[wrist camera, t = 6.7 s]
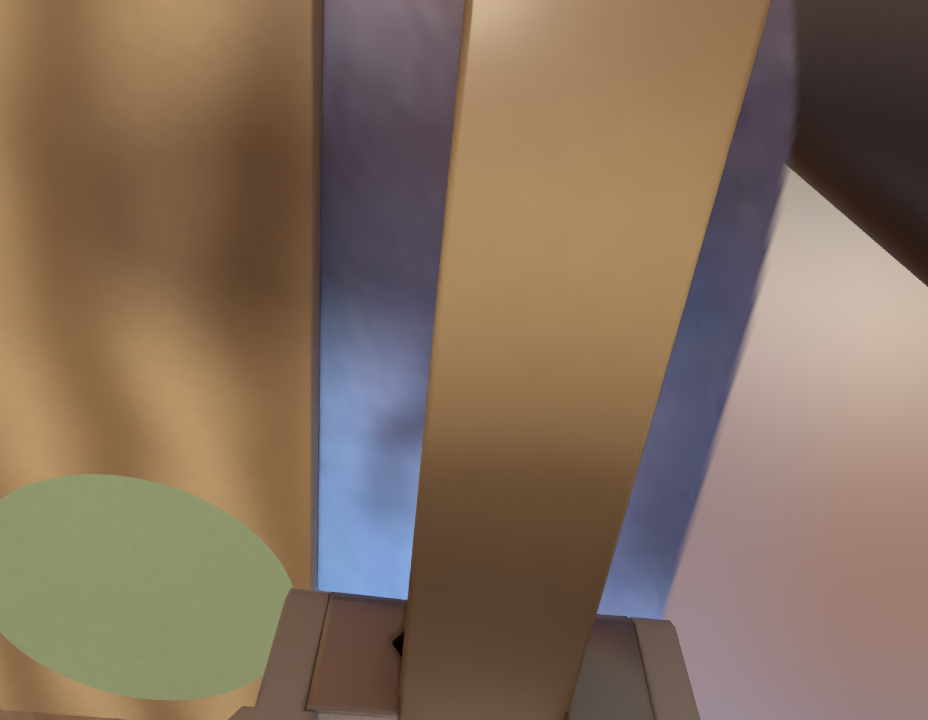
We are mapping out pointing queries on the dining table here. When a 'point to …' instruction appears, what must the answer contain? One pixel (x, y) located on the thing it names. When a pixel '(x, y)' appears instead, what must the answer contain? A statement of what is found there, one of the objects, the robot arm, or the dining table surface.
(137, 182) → the board
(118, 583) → the plate
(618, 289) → the tan wooden bar
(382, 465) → the dining table surface
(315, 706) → the robot arm
